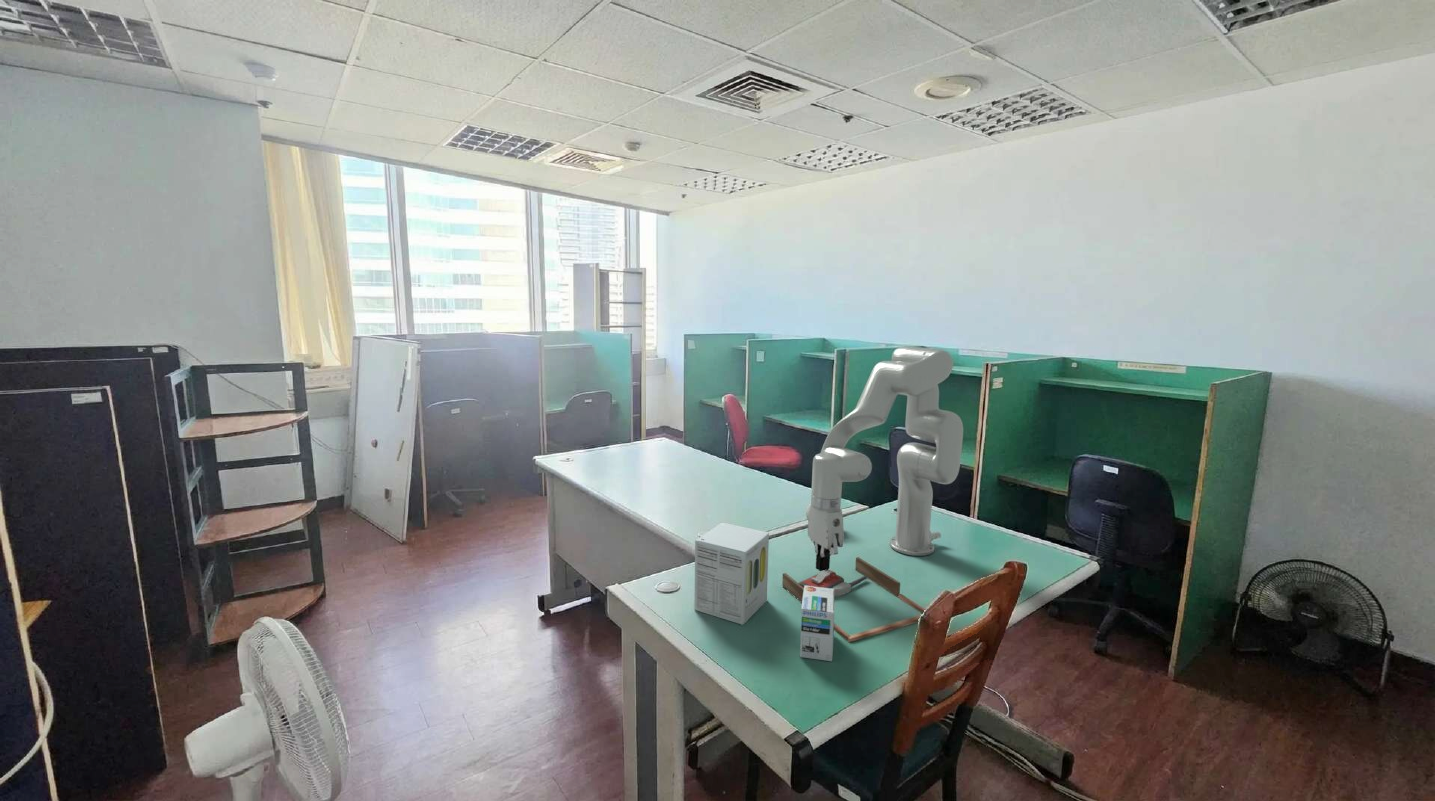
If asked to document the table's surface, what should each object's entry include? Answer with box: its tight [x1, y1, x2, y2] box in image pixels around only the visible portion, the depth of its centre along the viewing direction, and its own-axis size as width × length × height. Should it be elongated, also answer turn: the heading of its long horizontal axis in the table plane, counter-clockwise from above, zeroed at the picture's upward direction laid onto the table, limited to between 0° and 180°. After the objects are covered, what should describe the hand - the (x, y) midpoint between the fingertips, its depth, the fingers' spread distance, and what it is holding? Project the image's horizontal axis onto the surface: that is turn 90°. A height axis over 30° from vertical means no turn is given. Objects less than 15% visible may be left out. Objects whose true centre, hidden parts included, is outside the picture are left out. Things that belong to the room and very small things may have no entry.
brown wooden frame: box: [781, 556, 927, 643], centre depth 140 cm, size 24×27×4 cm
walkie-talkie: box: [798, 569, 868, 597], centre depth 147 cm, size 9×4×20 cm
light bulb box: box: [799, 585, 835, 662], centre depth 122 cm, size 11×7×11 cm, turn 168°
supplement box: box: [693, 522, 770, 626], centre depth 137 cm, size 13×13×18 cm
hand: (822, 568), depth 152 cm, fingers closed
